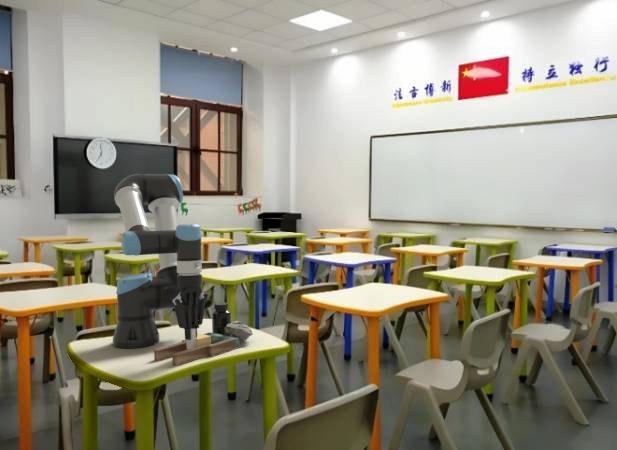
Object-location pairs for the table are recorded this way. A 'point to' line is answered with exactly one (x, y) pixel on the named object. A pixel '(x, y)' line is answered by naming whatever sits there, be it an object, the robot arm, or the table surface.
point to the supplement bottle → (220, 318)
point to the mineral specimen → (238, 331)
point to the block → (203, 340)
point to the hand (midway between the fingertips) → (191, 349)
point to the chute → (196, 349)
